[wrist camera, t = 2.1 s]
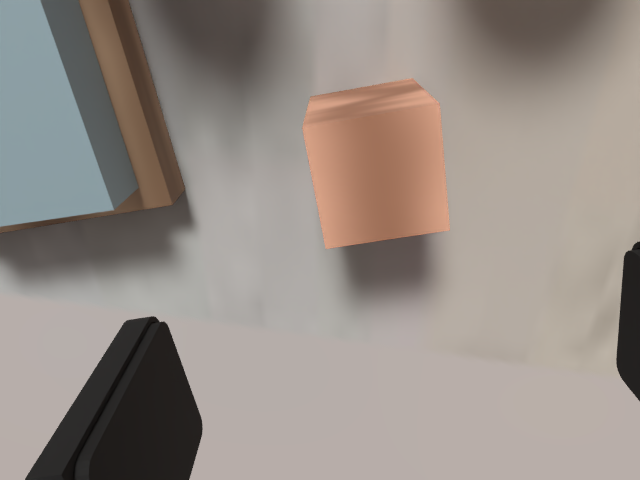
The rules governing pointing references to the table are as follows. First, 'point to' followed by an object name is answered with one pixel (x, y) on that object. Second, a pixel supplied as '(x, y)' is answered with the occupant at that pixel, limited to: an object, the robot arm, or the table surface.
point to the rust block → (377, 163)
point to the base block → (129, 111)
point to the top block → (55, 118)
